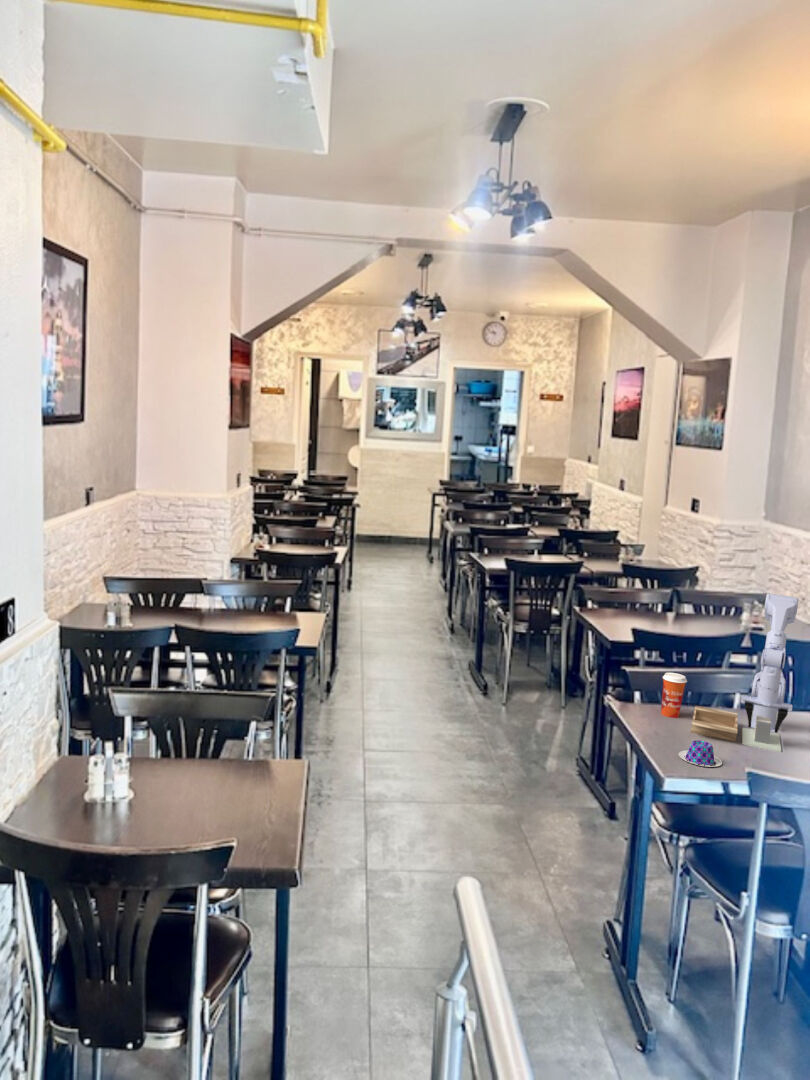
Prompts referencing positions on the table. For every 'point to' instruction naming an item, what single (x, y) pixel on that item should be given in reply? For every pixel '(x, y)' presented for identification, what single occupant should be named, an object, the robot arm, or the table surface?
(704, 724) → the light wood shallow tray
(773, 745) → the board
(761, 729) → the block
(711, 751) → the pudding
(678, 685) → the paper cup
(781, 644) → the robot arm
